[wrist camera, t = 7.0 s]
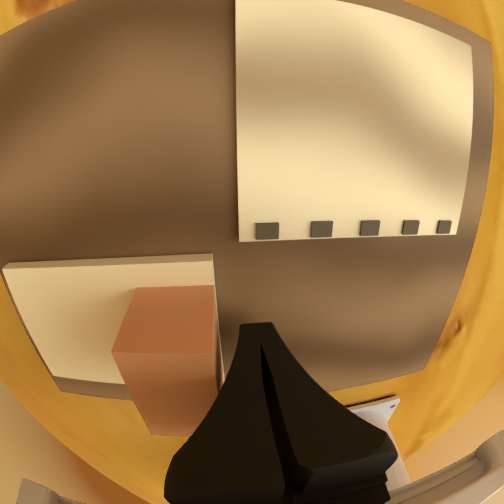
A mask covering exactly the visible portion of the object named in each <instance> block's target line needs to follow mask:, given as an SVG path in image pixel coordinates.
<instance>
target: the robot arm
mask: <svg viewBox="0 0 504 504" xmlns="http://www.w3.org/2000/svg"><path fill="white" fill-rule="evenodd" d="M399 401H400V399H399V397H398V396H393V397H390V398H386V399H382V400H378V401H374V402H370V403H366V404H361V405H357V406H352V407H347V408H346V407H345V406H343V405H342V404H341V403H339V402H338V401H337V400H335V399H334V398H333V397H332V396H331V395H330V394H328V393H327V392H326V391H325V390H324V389H323V388H322V387H321V386H320V385H319V384H318V383H317V382H316V381H315V380H314V379H313V378H312V377H311V376H310V375H309V374H308V373H307V372H306V370H305V369H304V368H303V367H302V366H301V365H300V363H299V362H298V361H297V360H296V358H295V357H294V356H293V354H292V353H291V352H290V350H289V349H288V347H287V346H286V344H285V343H284V341H283V340H282V338H281V337H280V335H279V333H278V332H277V330H276V328H275V326H274V324H273V323H272V322H262V323H246V324H241V325H240V326H239V337H238V342H237V347H236V350H235V354H234V357H233V360H232V363H231V366H230V369H229V371H228V374H227V376H226V379H225V381H224V383H223V385H222V387H221V389H220V391H219V393H218V395H217V397H216V399H215V401H214V403H213V404H212V406H211V408H210V409H209V411H208V413H207V414H206V416H205V417H204V419H203V420H202V422H201V423H200V424H199V426H198V427H197V428H196V430H195V431H194V433H193V434H192V435H191V436H190V438H189V439H188V440H187V441H186V442H185V444H184V445H183V446H182V447H181V448H180V449H179V450H178V451H177V453H176V454H175V455H174V456H173V458H172V460H171V463H170V465H169V468H168V471H167V474H166V479H165V485H164V497H165V499H166V500H167V501H168V502H169V503H170V504H481V503H483V502H484V501H486V500H487V499H488V498H489V497H491V496H492V495H493V494H495V493H496V492H497V491H498V490H500V489H501V488H502V487H503V486H504V430H501V431H500V432H498V433H497V434H495V435H494V436H492V437H491V438H489V439H488V440H486V441H485V442H484V443H483V444H481V445H480V446H479V447H478V448H477V449H476V451H474V452H473V453H471V454H469V455H468V456H466V457H464V458H462V459H460V460H459V461H457V462H455V463H453V464H451V465H449V466H447V467H445V468H443V469H441V470H439V471H437V472H435V473H433V474H431V475H429V476H426V477H424V478H422V479H420V480H417V481H415V482H411V480H410V478H409V475H408V472H407V470H406V467H405V465H404V462H403V460H402V457H401V455H400V452H399V450H398V448H397V445H396V443H395V440H394V438H393V436H392V433H391V431H390V429H389V426H388V424H387V421H388V420H389V418H390V416H391V415H392V413H393V412H394V410H395V408H396V407H397V405H398V403H399ZM16 504H85V503H81V502H78V501H74V500H71V499H68V498H65V497H62V496H59V495H58V494H57V493H56V492H54V491H52V490H51V489H48V488H47V487H45V486H42V485H40V484H37V483H34V482H32V481H30V480H27V479H25V478H23V479H22V482H21V486H20V490H19V494H18V498H17V502H16Z"/></svg>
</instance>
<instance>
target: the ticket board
mask: <svg viewBox="0 0 504 504" xmlns="http://www.w3.org/2000/svg"><path fill="white" fill-rule="evenodd" d="M493 118H494V77H493V60H492V49H491V42H489V41H487V40H486V39H484V38H482V37H481V36H479V35H477V34H475V33H473V32H472V31H470V30H468V29H466V28H464V27H462V26H460V25H458V24H456V23H454V22H452V21H450V20H448V19H446V18H444V17H441V16H439V15H437V14H435V13H432V12H430V11H427V10H425V9H423V8H420V7H418V6H415V5H412V4H410V3H407V2H404V1H401V0H77V1H74V2H71V3H69V4H66V5H63V6H61V7H58V8H56V9H53V10H51V11H49V12H46V13H44V14H42V15H39V16H37V17H35V18H33V19H31V20H29V21H27V22H25V23H23V24H21V25H19V26H17V27H15V28H13V29H11V30H9V31H8V32H6V33H4V34H2V35H1V36H0V272H1V275H2V277H3V280H4V283H5V285H6V288H7V290H8V293H9V295H10V297H11V300H12V302H13V304H14V307H15V309H16V311H17V313H18V316H19V318H20V320H21V322H22V324H23V326H24V328H25V330H26V332H27V334H28V336H29V338H30V340H31V342H32V344H33V345H34V347H35V349H36V351H37V353H38V355H39V356H40V358H41V360H42V362H43V363H44V365H45V367H46V368H47V370H48V372H49V373H50V375H51V376H52V378H53V380H54V381H55V383H56V384H57V386H58V387H59V389H60V390H61V391H62V392H68V393H74V394H80V395H87V396H95V397H103V398H112V399H122V400H133V399H132V397H131V395H130V393H129V391H128V388H127V386H126V384H116V383H105V382H95V381H86V380H78V379H71V378H64V377H58V376H53V375H52V373H51V371H50V370H49V368H48V366H47V365H46V363H45V361H44V359H43V358H42V356H41V354H40V352H39V351H38V349H37V347H36V345H35V343H34V341H33V339H32V337H31V335H30V333H29V331H28V329H27V327H26V325H25V323H24V321H23V319H22V317H21V315H20V313H19V310H18V308H17V306H16V304H15V301H14V299H13V297H12V294H11V292H10V289H9V287H8V284H7V282H6V279H5V276H4V274H3V271H2V268H3V267H4V266H5V265H7V264H8V263H15V262H37V261H58V260H80V259H101V258H123V257H144V256H166V255H187V254H209V253H213V265H214V278H215V289H216V301H217V311H218V322H219V332H220V341H221V351H222V360H223V369H224V379H226V376H227V374H228V371H229V369H230V366H231V363H232V360H233V357H234V354H235V350H236V347H237V342H238V337H239V326H240V325H241V324H246V323H262V322H272V323H273V324H274V326H275V328H276V330H277V332H278V333H279V335H280V337H281V338H282V340H283V341H284V343H285V344H286V346H287V347H288V349H289V350H290V352H291V353H292V354H293V356H294V357H295V358H296V360H297V361H298V362H299V363H300V365H301V366H302V367H303V368H304V369H305V370H306V372H307V373H308V374H309V375H310V376H311V377H312V378H313V379H314V380H315V381H316V382H317V383H318V384H319V385H320V386H321V387H322V388H323V389H324V390H325V391H326V392H329V391H335V390H341V389H346V388H351V387H356V386H361V385H366V384H371V383H375V382H379V381H384V380H388V379H392V378H396V377H400V376H404V375H407V374H411V373H415V372H418V371H422V370H424V369H425V367H426V365H427V363H428V361H429V359H430V357H431V355H432V353H433V351H434V349H435V347H436V345H437V343H438V340H439V338H440V336H441V334H442V332H443V329H444V327H445V325H446V322H447V320H448V317H449V315H450V313H451V310H452V308H453V305H454V302H455V300H456V297H457V294H458V292H459V289H460V286H461V283H462V280H463V277H464V274H465V271H466V268H467V265H468V262H469V258H470V255H471V252H472V248H473V244H474V241H475V237H476V233H477V229H478V225H479V221H480V216H481V212H482V207H483V202H484V197H485V191H486V185H487V179H488V172H489V165H490V157H491V147H492V135H493Z"/></svg>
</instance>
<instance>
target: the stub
mask: <svg viewBox="0 0 504 504" xmlns="http://www.w3.org/2000/svg"><path fill="white" fill-rule="evenodd" d="M2 271H3V274H4V276H5V279H6V282H7V284H8V287H9V289H10V292H11V294H12V297H13V299H14V301H15V304H16V306H17V308H18V310H19V313H20V315H21V317H22V319H23V321H24V323H25V325H26V327H27V329H28V331H29V333H30V335H31V337H32V339H33V341H34V343H35V345H36V347H37V349H38V351H39V352H40V354H41V356H42V358H43V359H44V361H45V363H46V365H47V366H48V368H49V370H50V371H51V373H52V375H53V376H58V377H64V378H71V379H78V380H86V381H95V382H105V383H116V384H126V386H127V388H128V391H129V393H130V395H131V397H132V399H133V401H134V403H135V404H136V406H137V408H138V410H139V412H140V414H141V416H142V418H143V420H144V421H145V423H146V425H147V427H148V429H149V430H150V432H151V434H152V435H167V436H191V435H192V434H193V433H194V431H195V430H196V428H197V427H198V426H199V424H200V423H201V422H202V420H203V419H204V417H205V416H206V414H207V413H208V411H209V409H210V408H211V406H212V404H213V403H214V401H215V399H216V397H217V395H218V393H219V391H220V389H221V387H222V385H223V383H224V381H225V379H224V369H223V360H222V351H221V341H220V332H219V322H218V311H217V301H216V289H215V278H214V265H213V253H209V254H187V255H166V256H144V257H123V258H101V259H80V260H58V261H37V262H15V263H8V264H7V265H5V266H4V267H3V268H2Z"/></svg>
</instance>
